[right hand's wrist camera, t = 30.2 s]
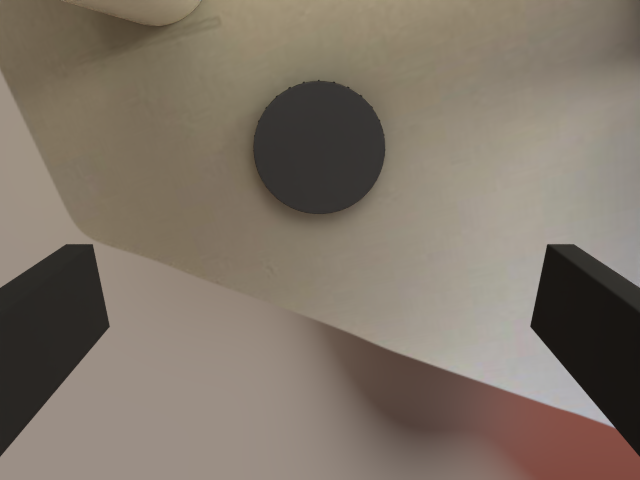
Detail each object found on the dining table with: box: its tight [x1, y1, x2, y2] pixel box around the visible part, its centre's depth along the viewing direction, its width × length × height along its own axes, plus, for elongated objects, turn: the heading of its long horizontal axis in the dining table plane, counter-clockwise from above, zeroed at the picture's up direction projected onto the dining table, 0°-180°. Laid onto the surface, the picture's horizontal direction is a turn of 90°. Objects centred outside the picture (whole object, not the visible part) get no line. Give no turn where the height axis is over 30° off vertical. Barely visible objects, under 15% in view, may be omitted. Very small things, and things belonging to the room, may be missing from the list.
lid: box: [253, 80, 385, 214], centre depth 36 cm, size 11×11×2 cm
